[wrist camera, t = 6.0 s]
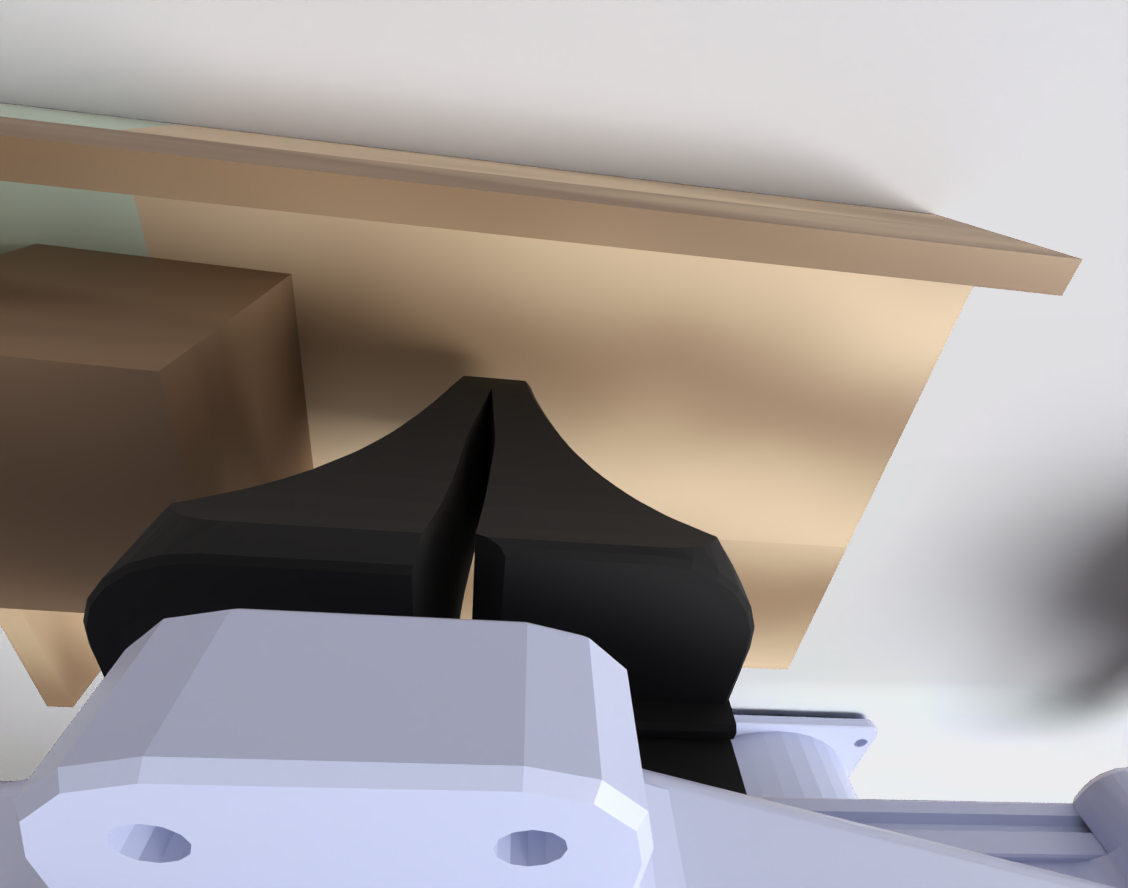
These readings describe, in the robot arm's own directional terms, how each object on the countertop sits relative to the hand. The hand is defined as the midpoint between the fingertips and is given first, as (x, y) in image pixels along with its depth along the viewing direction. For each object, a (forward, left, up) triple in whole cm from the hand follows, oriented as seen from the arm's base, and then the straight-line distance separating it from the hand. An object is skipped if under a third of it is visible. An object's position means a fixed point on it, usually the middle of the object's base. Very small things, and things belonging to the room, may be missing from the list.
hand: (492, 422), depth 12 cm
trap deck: (-2, +1, -3) cm, 4 cm away
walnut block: (0, +6, -1) cm, 6 cm away
